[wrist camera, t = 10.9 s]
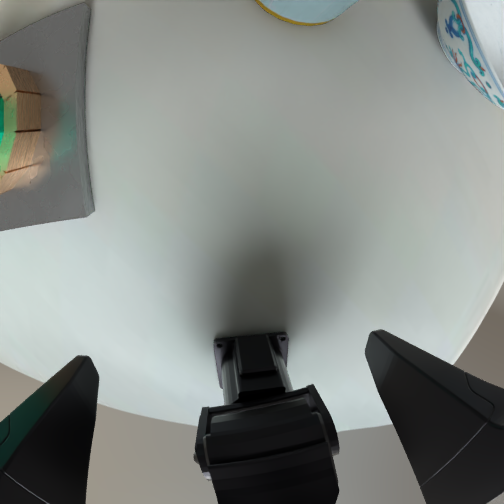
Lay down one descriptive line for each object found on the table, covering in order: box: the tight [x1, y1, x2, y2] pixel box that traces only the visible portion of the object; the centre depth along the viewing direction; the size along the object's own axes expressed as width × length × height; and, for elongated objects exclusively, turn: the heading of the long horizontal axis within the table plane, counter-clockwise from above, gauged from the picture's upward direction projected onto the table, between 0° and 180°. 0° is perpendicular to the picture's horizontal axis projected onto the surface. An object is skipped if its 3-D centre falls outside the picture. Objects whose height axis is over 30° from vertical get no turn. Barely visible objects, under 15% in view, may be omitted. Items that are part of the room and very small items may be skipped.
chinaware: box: [437, 0, 504, 110], centre depth 12 cm, size 15×15×8 cm
